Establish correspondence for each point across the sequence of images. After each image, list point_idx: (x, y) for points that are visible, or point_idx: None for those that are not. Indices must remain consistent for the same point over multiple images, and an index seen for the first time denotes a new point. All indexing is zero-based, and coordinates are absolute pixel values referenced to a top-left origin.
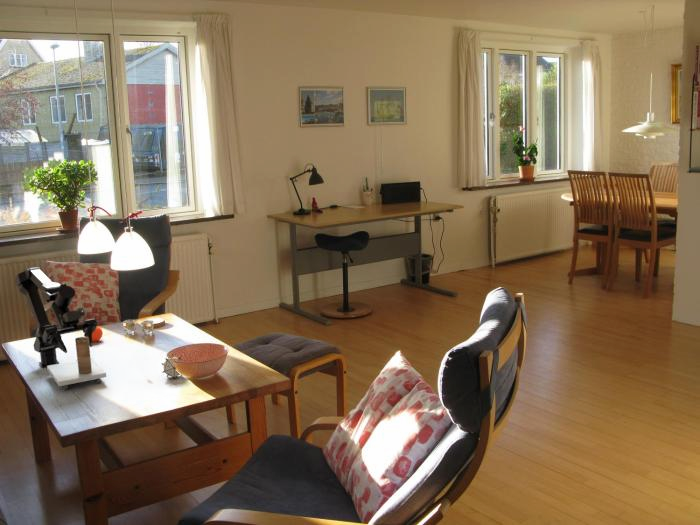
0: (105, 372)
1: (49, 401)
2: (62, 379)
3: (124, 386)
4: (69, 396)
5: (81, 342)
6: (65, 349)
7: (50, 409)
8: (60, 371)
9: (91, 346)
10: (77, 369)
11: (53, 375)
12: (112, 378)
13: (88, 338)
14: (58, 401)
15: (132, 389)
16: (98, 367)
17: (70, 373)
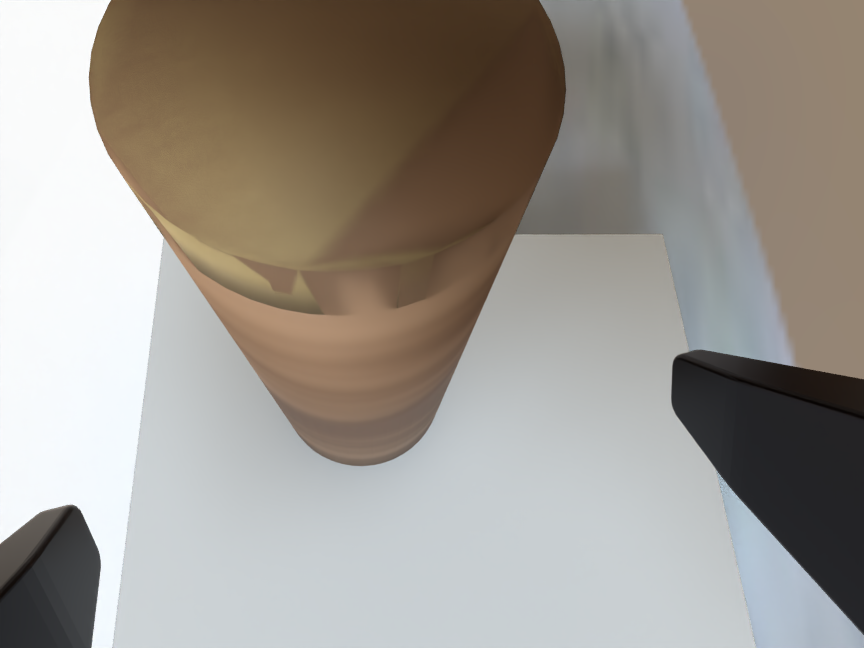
0: (163, 252)
1: (688, 158)
2: (623, 293)
3: (101, 141)
4: (546, 174)
5: None
6: (730, 360)
7: (674, 24)
8: (646, 637)
9: (76, 530)
10: (427, 590)
11: (724, 518)
12: (91, 420)
13: (128, 25)
14: (626, 123)
15: (82, 49)
16: (159, 507)
17: (529, 461)
